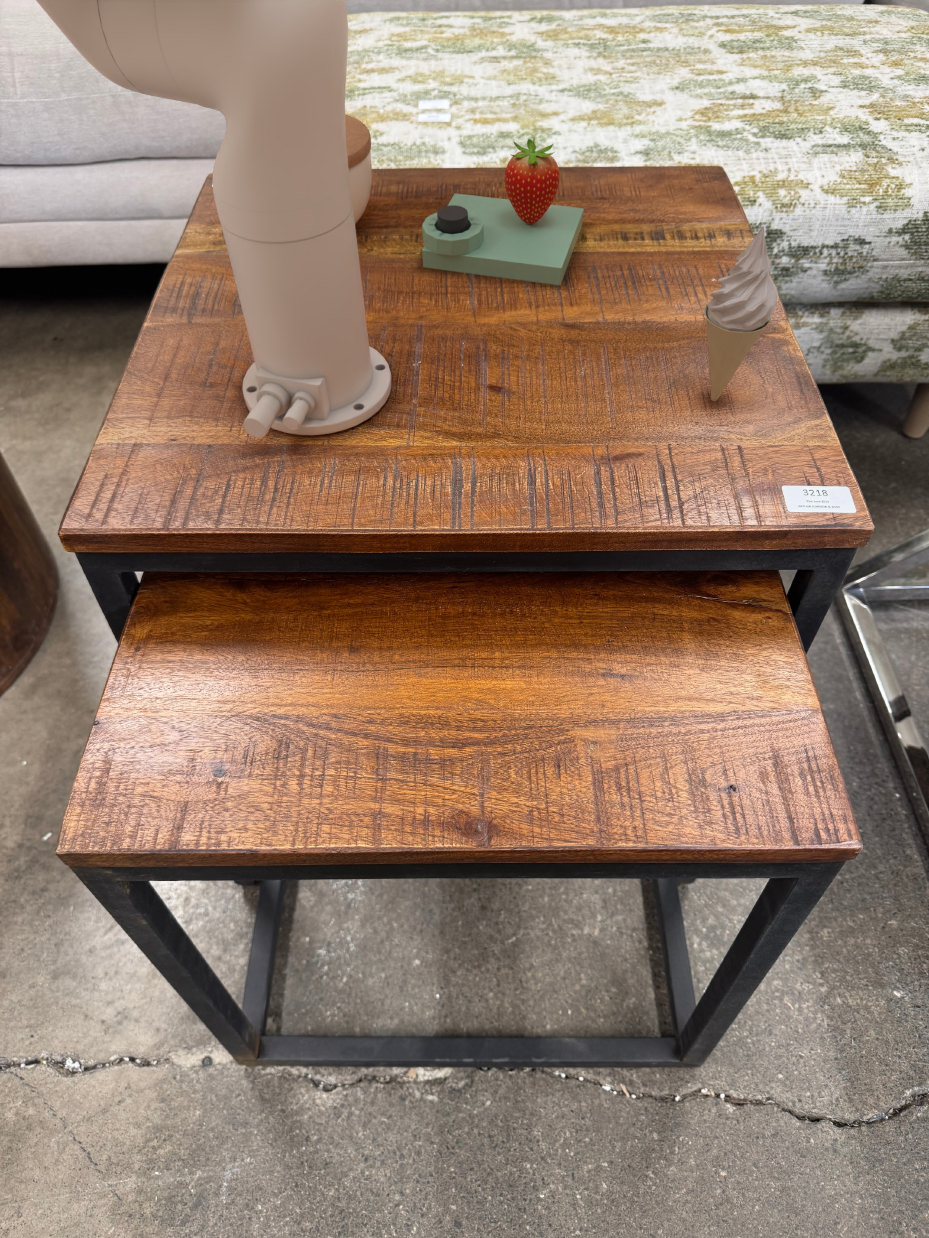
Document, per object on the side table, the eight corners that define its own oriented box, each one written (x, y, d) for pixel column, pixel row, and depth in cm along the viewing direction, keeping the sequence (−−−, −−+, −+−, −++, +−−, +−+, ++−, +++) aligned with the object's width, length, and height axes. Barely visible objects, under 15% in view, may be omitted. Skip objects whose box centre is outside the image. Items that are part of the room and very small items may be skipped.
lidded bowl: (271, 199, 94) (250, 88, 85) (384, 199, 93) (374, 89, 85) (249, 258, 86) (223, 144, 77) (372, 259, 86) (360, 144, 77)
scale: (559, 288, 82) (562, 254, 79) (417, 269, 84) (415, 235, 82) (582, 226, 89) (585, 192, 87) (450, 210, 92) (450, 177, 89)
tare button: (463, 237, 82) (463, 222, 81) (434, 234, 83) (433, 218, 81) (471, 222, 84) (471, 207, 83) (442, 219, 84) (441, 203, 83)
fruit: (502, 233, 85) (504, 149, 79) (504, 208, 88) (506, 125, 82) (556, 234, 85) (562, 150, 78) (556, 209, 88) (562, 126, 81)
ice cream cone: (734, 425, 69) (787, 250, 57) (675, 407, 71) (715, 232, 59) (752, 391, 72) (807, 217, 60) (695, 374, 73) (737, 201, 62)
